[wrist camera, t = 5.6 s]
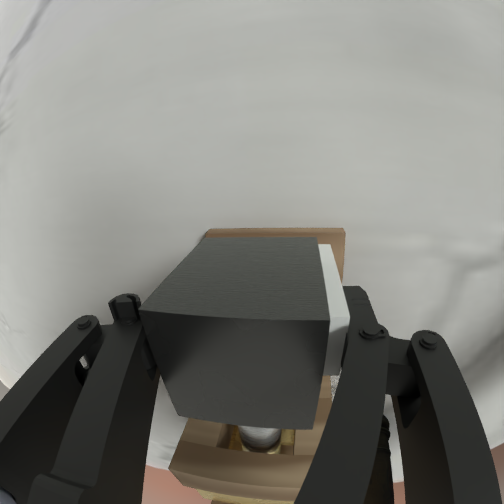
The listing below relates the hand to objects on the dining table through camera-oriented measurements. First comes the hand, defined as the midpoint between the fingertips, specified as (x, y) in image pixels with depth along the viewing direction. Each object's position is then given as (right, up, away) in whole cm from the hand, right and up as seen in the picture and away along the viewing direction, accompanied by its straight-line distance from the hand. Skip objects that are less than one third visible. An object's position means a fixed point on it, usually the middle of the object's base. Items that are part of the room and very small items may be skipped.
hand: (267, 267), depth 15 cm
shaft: (0, -10, +2) cm, 10 cm away
